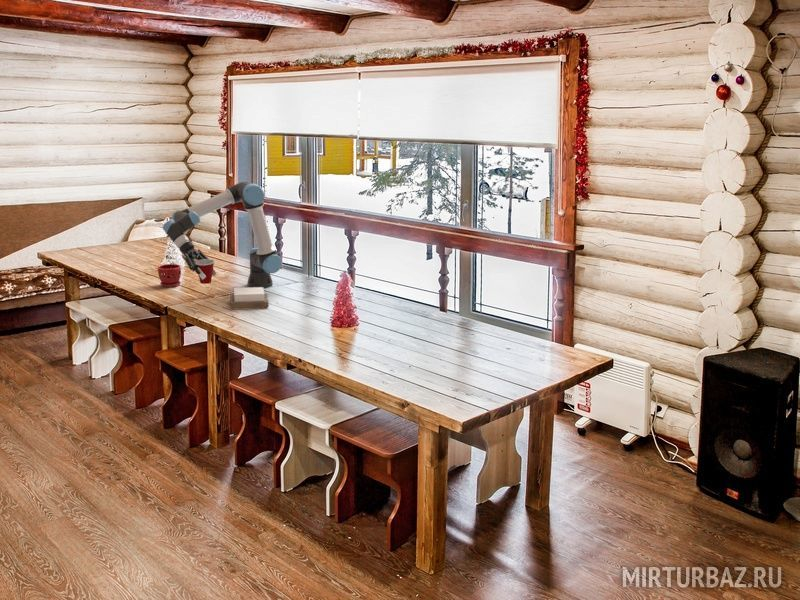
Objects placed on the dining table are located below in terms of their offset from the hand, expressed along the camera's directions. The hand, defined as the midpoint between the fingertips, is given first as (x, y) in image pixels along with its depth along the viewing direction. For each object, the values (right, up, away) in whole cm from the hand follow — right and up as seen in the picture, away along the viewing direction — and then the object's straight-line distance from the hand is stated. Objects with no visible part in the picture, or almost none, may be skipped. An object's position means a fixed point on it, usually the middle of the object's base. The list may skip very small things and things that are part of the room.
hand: (210, 276), depth 435 cm
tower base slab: (+20, -16, +9) cm, 27 cm away
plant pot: (-35, -4, +46) cm, 58 cm away
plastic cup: (-3, -4, +2) cm, 5 cm away
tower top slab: (+20, -12, +8) cm, 24 cm away
